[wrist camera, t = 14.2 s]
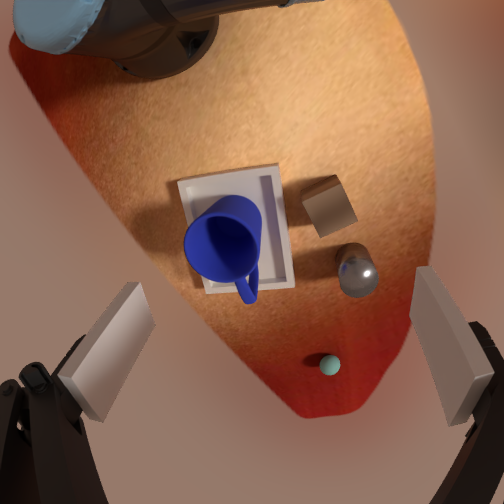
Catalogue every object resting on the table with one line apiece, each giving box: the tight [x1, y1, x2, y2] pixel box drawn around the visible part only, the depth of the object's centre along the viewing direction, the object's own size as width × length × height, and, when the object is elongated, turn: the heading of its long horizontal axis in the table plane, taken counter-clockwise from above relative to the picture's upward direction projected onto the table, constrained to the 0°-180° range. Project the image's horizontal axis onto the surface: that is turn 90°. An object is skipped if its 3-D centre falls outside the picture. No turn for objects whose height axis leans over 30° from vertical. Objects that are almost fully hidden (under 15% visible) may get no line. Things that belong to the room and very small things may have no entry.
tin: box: [335, 243, 379, 298], centre depth 40 cm, size 5×5×6 cm
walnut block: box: [301, 175, 358, 238], centre depth 38 cm, size 5×5×5 cm
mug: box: [184, 195, 262, 304], centre depth 38 cm, size 8×12×10 cm
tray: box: [177, 163, 295, 294], centre depth 43 cm, size 17×13×2 cm
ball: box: [320, 355, 340, 375], centre depth 50 cm, size 4×4×4 cm
